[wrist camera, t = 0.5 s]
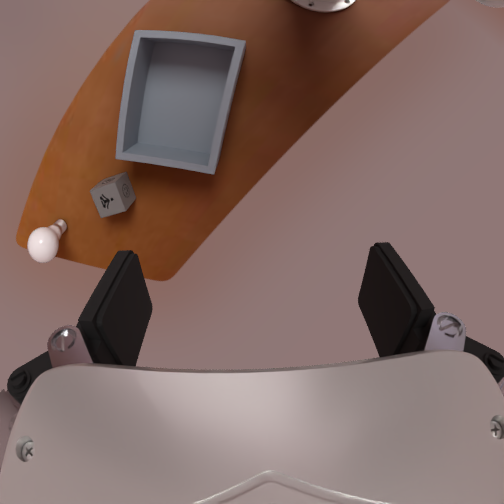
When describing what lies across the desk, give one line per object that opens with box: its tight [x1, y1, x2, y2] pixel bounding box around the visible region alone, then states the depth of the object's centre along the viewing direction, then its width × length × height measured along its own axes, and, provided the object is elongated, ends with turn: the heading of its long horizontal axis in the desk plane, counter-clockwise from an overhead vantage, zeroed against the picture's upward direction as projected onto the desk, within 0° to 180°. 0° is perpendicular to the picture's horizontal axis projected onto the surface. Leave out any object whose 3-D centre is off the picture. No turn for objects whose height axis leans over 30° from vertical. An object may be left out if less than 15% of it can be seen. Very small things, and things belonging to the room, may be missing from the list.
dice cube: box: [90, 172, 136, 218], centre depth 42 cm, size 5×5×5 cm
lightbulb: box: [28, 219, 67, 263], centre depth 43 cm, size 6×6×11 cm
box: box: [116, 30, 246, 175], centre depth 33 cm, size 18×14×7 cm
